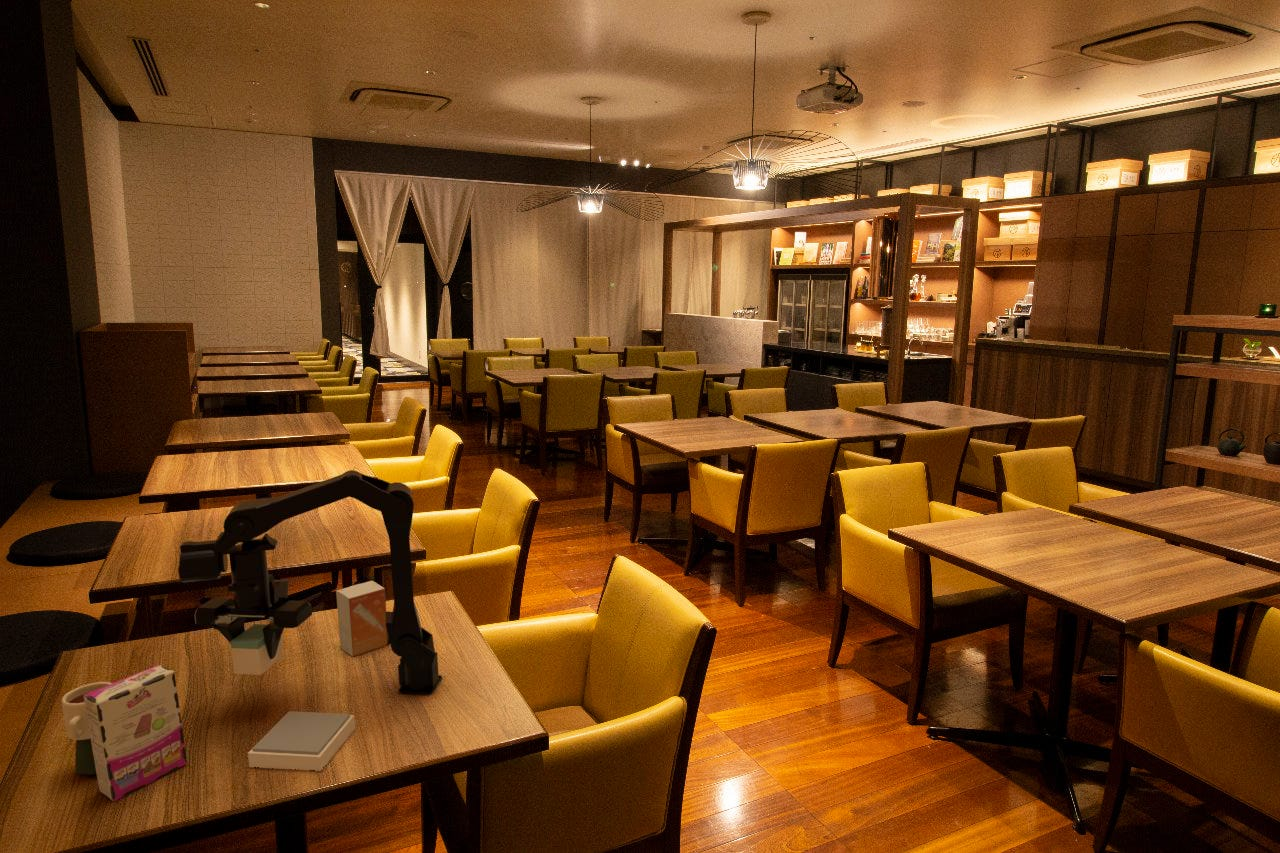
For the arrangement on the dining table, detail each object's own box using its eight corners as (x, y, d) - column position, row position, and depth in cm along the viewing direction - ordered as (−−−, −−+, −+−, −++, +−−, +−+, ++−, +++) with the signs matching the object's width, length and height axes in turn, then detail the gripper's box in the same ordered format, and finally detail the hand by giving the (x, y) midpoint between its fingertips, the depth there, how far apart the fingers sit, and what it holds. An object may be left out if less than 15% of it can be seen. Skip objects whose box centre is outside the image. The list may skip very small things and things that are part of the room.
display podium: (355, 728, 135) (354, 712, 134) (321, 771, 123) (319, 754, 123) (289, 725, 136) (287, 709, 135) (249, 767, 124) (247, 750, 124)
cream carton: (282, 655, 142) (280, 625, 141) (261, 674, 135) (257, 642, 134) (257, 654, 142) (253, 624, 141) (234, 673, 136) (230, 641, 134)
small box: (352, 657, 160) (348, 598, 158) (339, 647, 165) (335, 589, 162) (389, 645, 166) (385, 587, 163) (376, 635, 170) (371, 579, 168)
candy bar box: (172, 754, 128) (160, 662, 125) (188, 764, 125) (176, 670, 122) (96, 792, 118) (81, 693, 115) (112, 803, 116) (97, 702, 113)
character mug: (105, 786, 120) (94, 709, 117) (55, 790, 119) (42, 713, 116) (140, 745, 130) (130, 674, 128) (94, 749, 129) (84, 677, 127)
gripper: (323, 559, 143) (330, 639, 146) (227, 557, 144) (235, 635, 147) (291, 582, 132) (299, 668, 135) (188, 579, 134) (197, 663, 136)
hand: (258, 657), depth 139 cm, fingers closed on cream carton, 5 cm apart
